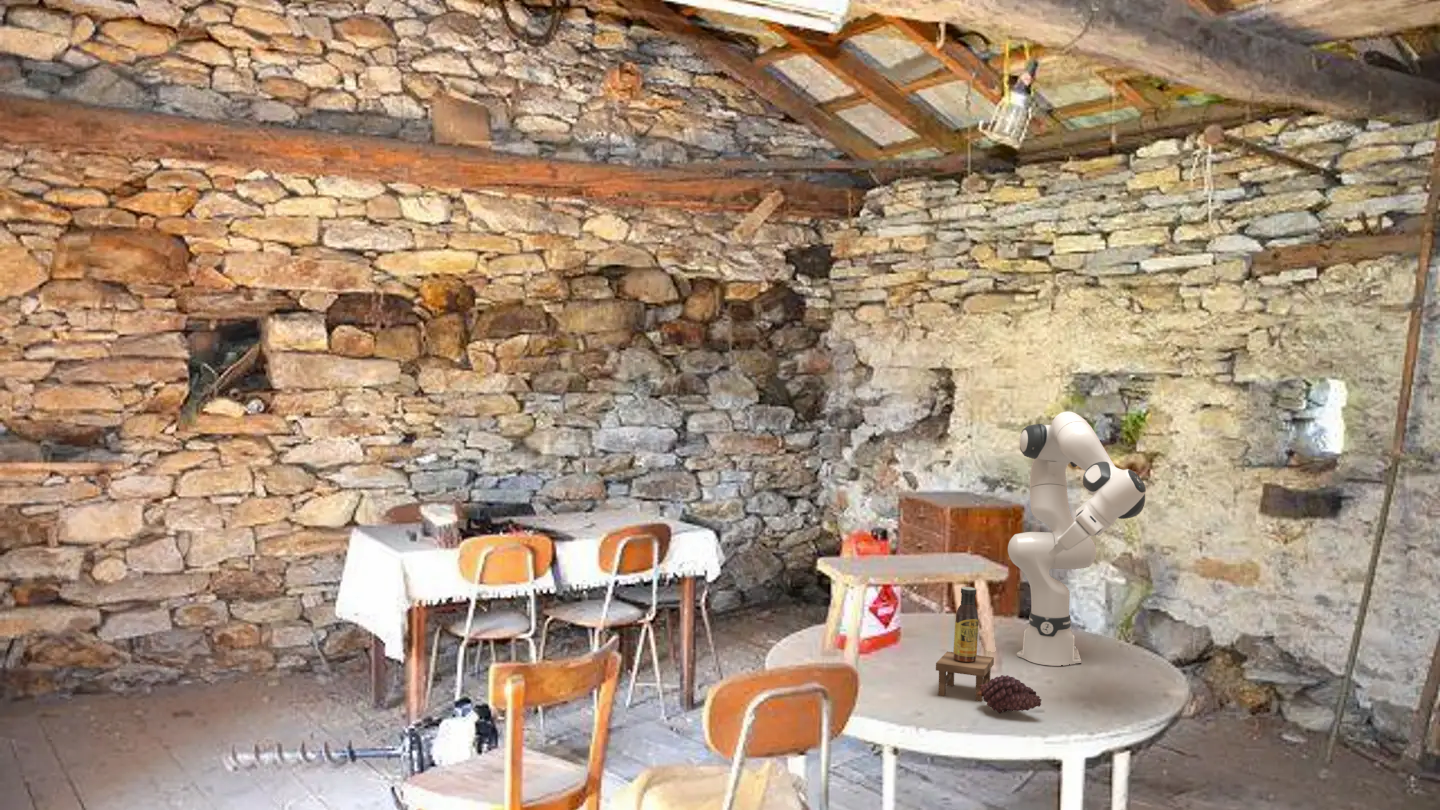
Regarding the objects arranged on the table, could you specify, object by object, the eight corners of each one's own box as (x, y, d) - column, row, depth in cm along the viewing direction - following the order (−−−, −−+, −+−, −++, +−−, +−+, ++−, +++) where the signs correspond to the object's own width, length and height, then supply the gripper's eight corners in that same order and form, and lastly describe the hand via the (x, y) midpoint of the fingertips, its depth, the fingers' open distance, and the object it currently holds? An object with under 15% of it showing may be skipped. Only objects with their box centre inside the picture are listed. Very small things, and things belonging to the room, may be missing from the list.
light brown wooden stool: (946, 682, 310) (947, 651, 309) (993, 689, 304) (993, 657, 304) (935, 695, 298) (935, 663, 298) (983, 702, 293) (984, 669, 292)
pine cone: (1047, 717, 282) (1048, 678, 281) (1030, 726, 274) (1031, 687, 274) (984, 701, 293) (985, 665, 293) (966, 710, 286) (967, 673, 285)
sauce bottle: (960, 664, 297) (961, 591, 296) (949, 657, 303) (950, 586, 302) (981, 662, 299) (983, 590, 298) (970, 656, 305) (972, 585, 304)
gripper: (1088, 505, 303) (1050, 537, 308) (1078, 514, 285) (1039, 549, 289) (1104, 522, 302) (1066, 554, 306) (1096, 533, 283) (1056, 567, 288)
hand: (1053, 552), depth 297 cm, fingers open, 8 cm apart
